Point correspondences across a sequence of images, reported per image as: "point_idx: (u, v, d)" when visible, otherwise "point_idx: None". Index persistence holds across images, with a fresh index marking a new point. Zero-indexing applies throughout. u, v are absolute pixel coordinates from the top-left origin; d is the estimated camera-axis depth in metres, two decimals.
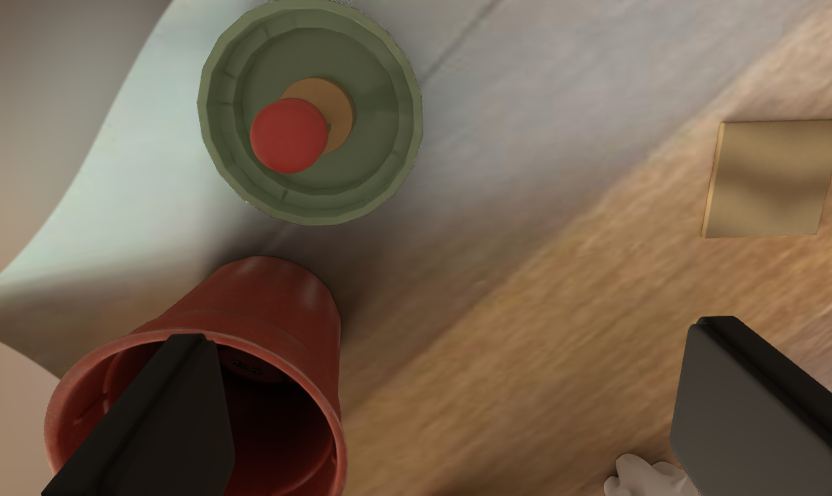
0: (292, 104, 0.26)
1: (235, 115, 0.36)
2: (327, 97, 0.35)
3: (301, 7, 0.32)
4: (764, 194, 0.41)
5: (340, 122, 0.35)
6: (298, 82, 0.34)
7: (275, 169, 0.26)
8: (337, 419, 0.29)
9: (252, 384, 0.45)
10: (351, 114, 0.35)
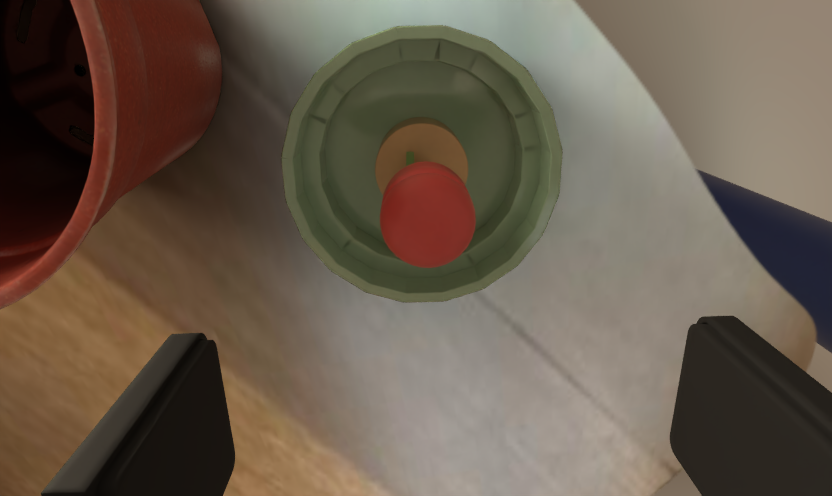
0: (472, 235, 0.20)
1: (422, 61, 0.27)
2: None
3: (550, 173, 0.27)
4: None
5: None
6: (463, 153, 0.28)
7: (389, 214, 0.19)
8: None
9: None
10: None
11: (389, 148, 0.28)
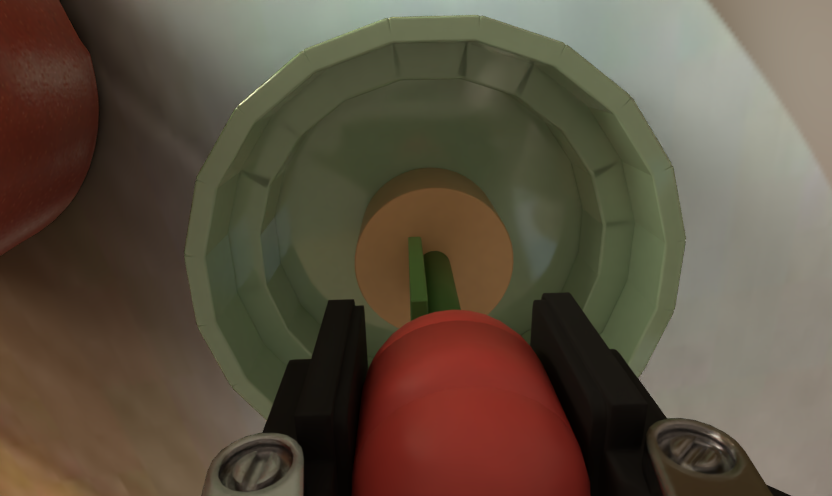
0: None
1: (435, 78, 0.16)
2: (473, 292, 0.17)
3: (662, 276, 0.15)
4: None
5: None
6: (506, 237, 0.16)
7: None
8: None
9: None
10: None
11: (378, 230, 0.16)
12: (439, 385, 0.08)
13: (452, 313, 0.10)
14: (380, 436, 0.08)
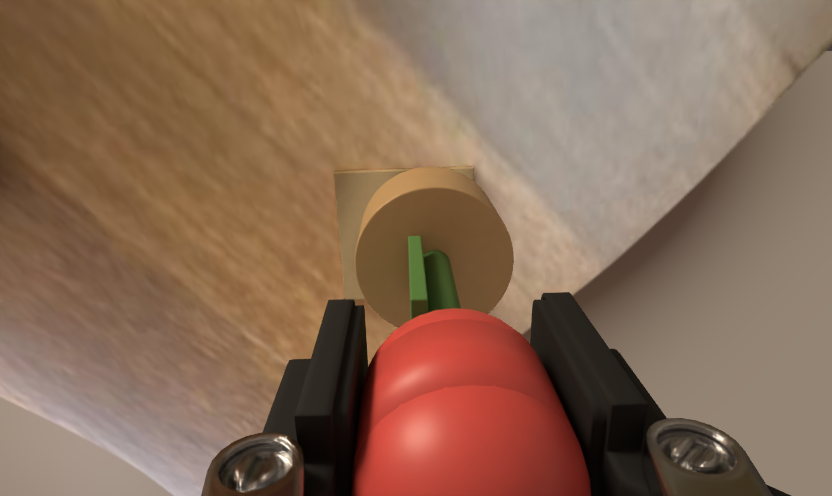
0: None
1: None
2: (473, 291, 0.17)
3: None
4: None
5: None
6: (506, 236, 0.16)
7: None
8: None
9: None
10: None
11: (378, 229, 0.16)
12: (439, 383, 0.08)
13: (452, 311, 0.10)
14: (380, 434, 0.07)
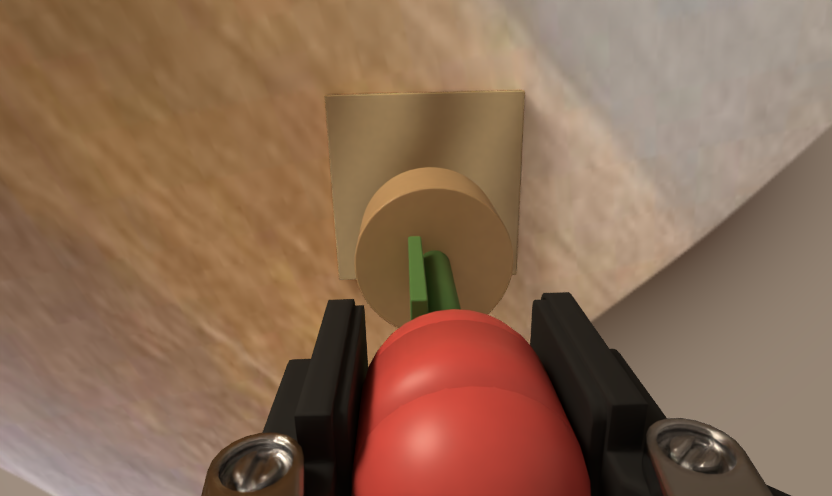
0: None
1: None
2: (473, 291, 0.17)
3: None
4: None
5: None
6: (506, 237, 0.16)
7: None
8: None
9: None
10: None
11: (378, 229, 0.16)
12: (439, 384, 0.08)
13: (452, 312, 0.10)
14: (380, 436, 0.07)
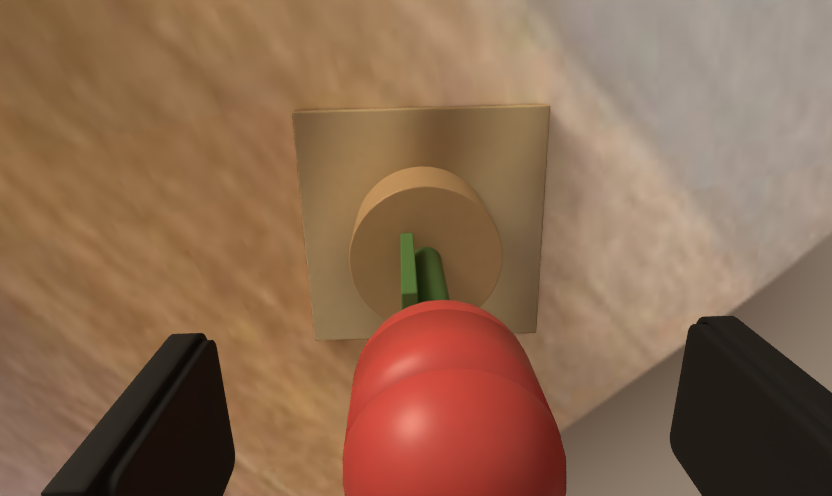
0: None
1: None
2: (464, 287, 0.17)
3: None
4: None
5: None
6: (495, 234, 0.17)
7: (362, 487, 0.08)
8: None
9: None
10: None
11: (371, 227, 0.17)
12: (424, 367, 0.08)
13: (439, 303, 0.10)
14: (369, 415, 0.08)
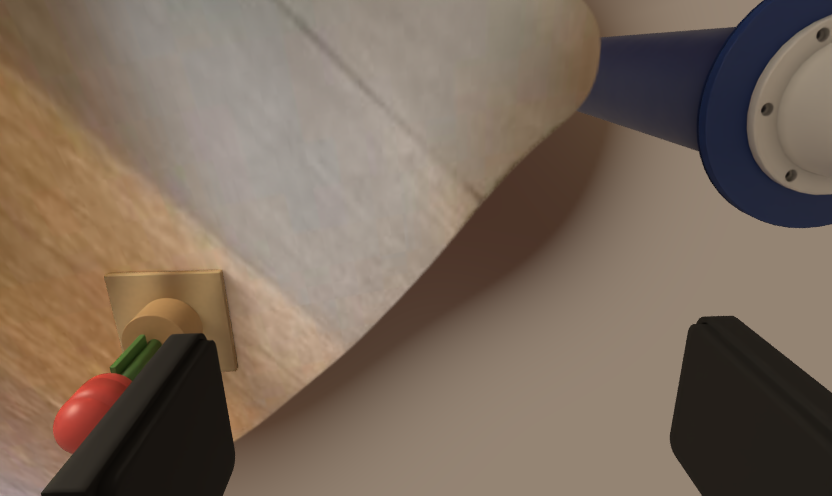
0: None
1: None
2: None
3: None
4: None
5: None
6: (183, 333, 0.40)
7: (53, 427, 0.30)
8: None
9: None
10: None
11: (129, 331, 0.40)
12: (76, 397, 0.31)
13: (102, 375, 0.33)
14: (60, 409, 0.31)
